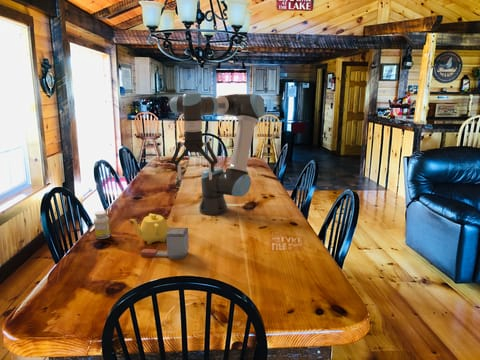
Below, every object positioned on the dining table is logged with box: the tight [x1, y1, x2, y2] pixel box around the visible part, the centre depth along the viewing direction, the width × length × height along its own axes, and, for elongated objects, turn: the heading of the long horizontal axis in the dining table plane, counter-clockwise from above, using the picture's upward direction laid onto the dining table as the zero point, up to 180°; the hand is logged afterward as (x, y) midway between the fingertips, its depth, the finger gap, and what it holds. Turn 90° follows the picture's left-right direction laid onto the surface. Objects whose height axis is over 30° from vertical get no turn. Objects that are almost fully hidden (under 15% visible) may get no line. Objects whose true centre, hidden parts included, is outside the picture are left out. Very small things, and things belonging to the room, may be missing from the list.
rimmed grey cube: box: [165, 227, 190, 257], centre depth 151 cm, size 7×7×9 cm
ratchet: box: [140, 248, 189, 261], centre depth 152 cm, size 7×18×6 cm, turn 85°
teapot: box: [129, 213, 170, 245], centre depth 166 cm, size 14×14×12 cm
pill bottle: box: [93, 210, 112, 240], centre depth 170 cm, size 6×6×12 cm
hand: (195, 179), depth 164 cm, fingers open, 13 cm apart
